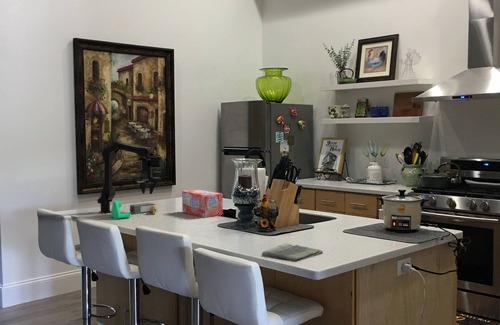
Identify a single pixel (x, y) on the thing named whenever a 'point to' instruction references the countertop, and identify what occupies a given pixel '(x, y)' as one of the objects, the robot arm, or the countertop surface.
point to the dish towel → (291, 252)
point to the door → (154, 208)
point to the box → (202, 203)
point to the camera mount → (118, 211)
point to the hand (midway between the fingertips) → (147, 193)
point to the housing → (141, 208)
